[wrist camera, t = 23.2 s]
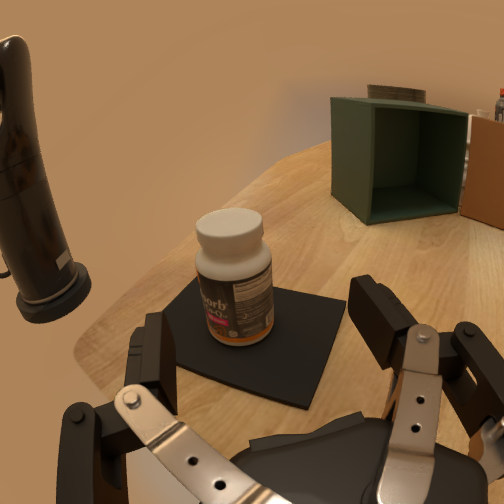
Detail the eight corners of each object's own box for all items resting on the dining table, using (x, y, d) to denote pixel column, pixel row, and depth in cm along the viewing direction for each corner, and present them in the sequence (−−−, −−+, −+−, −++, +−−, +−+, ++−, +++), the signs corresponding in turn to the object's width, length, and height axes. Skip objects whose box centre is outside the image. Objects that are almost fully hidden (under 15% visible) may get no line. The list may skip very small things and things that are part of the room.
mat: (133, 346, 26) (131, 342, 25) (202, 274, 35) (201, 271, 34) (307, 410, 19) (308, 406, 19) (346, 304, 28) (346, 300, 28)
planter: (419, 148, 88) (420, 89, 77) (359, 138, 100) (358, 83, 90) (428, 140, 102) (429, 91, 92) (377, 131, 115) (377, 85, 104)
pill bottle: (197, 323, 27) (173, 221, 22) (248, 296, 30) (237, 198, 25) (234, 360, 23) (214, 249, 18) (288, 325, 26) (286, 218, 21)
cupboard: (457, 212, 44) (468, 113, 35) (366, 225, 42) (371, 102, 33) (415, 186, 55) (420, 102, 46) (331, 194, 53) (330, 97, 44)
